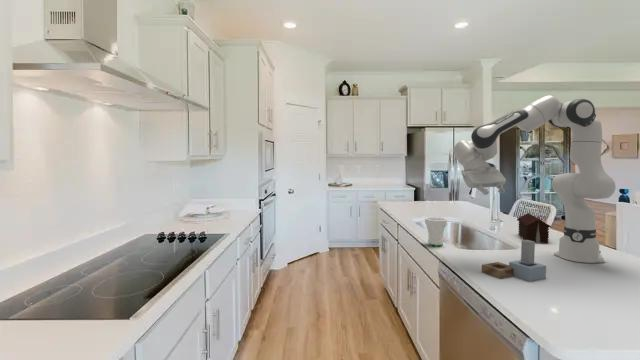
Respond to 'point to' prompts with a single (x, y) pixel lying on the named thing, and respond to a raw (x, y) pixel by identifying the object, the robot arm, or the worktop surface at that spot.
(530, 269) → the block
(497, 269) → the socket block
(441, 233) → the cup
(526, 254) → the tall brushed metal pillar
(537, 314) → the worktop surface
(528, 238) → the model building
